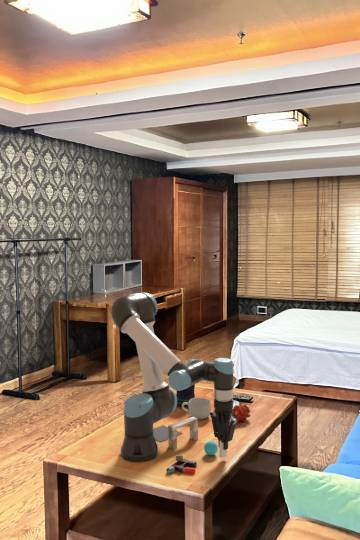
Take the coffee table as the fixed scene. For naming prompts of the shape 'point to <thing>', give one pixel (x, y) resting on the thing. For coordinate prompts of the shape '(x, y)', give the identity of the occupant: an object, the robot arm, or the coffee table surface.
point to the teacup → (198, 407)
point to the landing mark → (162, 433)
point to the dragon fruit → (241, 412)
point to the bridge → (173, 428)
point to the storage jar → (185, 396)
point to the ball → (210, 448)
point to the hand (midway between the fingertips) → (223, 456)
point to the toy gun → (182, 466)
